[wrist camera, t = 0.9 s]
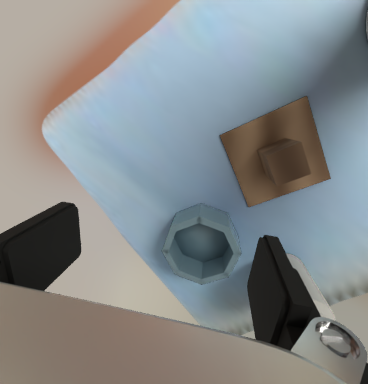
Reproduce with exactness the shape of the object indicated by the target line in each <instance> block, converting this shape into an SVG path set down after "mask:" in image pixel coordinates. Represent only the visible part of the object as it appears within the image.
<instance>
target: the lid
mask: <svg viewBox="0 0 368 384" xmlns="http://www.w3.org/2000/svg"><path fill="white" fill-rule="evenodd" d="M220 137H221V140H222V142H223V145H224V147H225V150H226V152H227V155H228V157H229V160H230V162H231V165H232V167H233V170H234V172H235V175H236V177H237V180H238V182H239V185H240V187H241V190H242V192H243V194H244V197H245V199H246V202H247V204H248V207H251V206H254V205H257V204H260V203H262V202H265V201H268V200H271V199H274V198H277V197H280V196H282V195H285V194H288V193H291V192H294V191H297V190H300V189H303V188H305V187H308V186H311V185H314V184H317V183H320V182H323V181H325V180H328V179H331V178H330V174H329V171H328V167H327V164H326V161H325V157H324V154H323V150H322V147H321V143H320V140H319V136H318V133H317V129H316V126H315V122H314V119H313V115H312V112H311V108H310V105H309V101H308V98H307V96H305V97H303V98H301V99H299V100H296V101H294V102H292V103H290V104H288V105H285V106H283V107H281V108H279V109H277V110H274V111H272V112H270V113H268V114H266V115H263V116H261V117H259V118H257V119H255V120H252V121H250V122H248V123H246V124H244V125H241V126H239V127H237V128H235V129H233V130H230V131H228V132H226V133H224V134H222V135H220Z"/></svg>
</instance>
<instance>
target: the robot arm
mask: <svg viewBox="0 0 368 384" xmlns="http://www.w3.org/2000/svg"><path fill="white" fill-rule="evenodd" d="M366 33H367V39H368V12H367V17H366ZM80 254H81V241H80V228H79V216H78V209H77V207H76V206H75V204H73V203H66V202H60V203H58V204H57V205H55V206H53V207H51V208H49V209H47V210H45V211H43V212H41V213H40V214H37V215H35V216H34V217H32V218H30V219H28V220H26V221H24V222H22V223H20V224H18V225H16V226H14V227H12V228H11V229H9V230H7V231H5V232H3V233H1V234H0V384H368V363H366V361H367V352H366V350H365V347H364V346H363V344H362V343H361V341H360V340H359V338H358V337H357V336H355V334H354V333H353V332H351V331H350V330H349V329H348V328H346V327H345V326H344V325H342V324H340V323H338V322H336V321H334V320H332V319H329V318H324V317H321V315H320V313H319V311H318V309H317V307H316V305H315V304H314V302H313V300H312V298H311V296H310V294H309V292H308V290H307V288H306V286H305V284H304V282H303V280H302V278H301V276H300V275H299V273H298V271H297V270H296V269H295V268H293V267H292V265H291V263H290V261H289V259H288V257H287V255H286V253H285V251H284V249H283V247H282V245H281V243H280V241H279V239H278V237H274V236H268V235H264V237H263V238H262V237H260V238H259V240H258V244H257V248H256V252H255V256H254V260H253V264H252V268H251V272H250V276H249V280H248V285H247V289H248V296H249V302H250V308H251V314H252V320H253V326H254V332H255V338H256V340H255V339H251V338H248V337H244V336H240V335H237V334H233V333H229V332H225V331H220V330H216V329H211V328H207V327H203V326H199V325H194V324H190V323H185V322H181V321H177V320H172V319H168V318H163V317H159V316H155V315H150V314H146V313H141V312H136V311H132V310H128V309H123V308H119V307H114V306H110V305H105V304H101V303H96V302H92V301H87V300H82V299H78V298H73V297H68V296H64V295H60V294H55V293H50V292H45V291H44V290H45V289H46V288H47V287H48V286H49V285H50V284H51V283H52V282H53V281H54V280H55V279H57V277H59V276H60V275H61V274H62V273H63V272H64V271H65V270H66V269H67V268H68V267H69V266H70V265H71V264H72V263H73V262H74V261H75V260H76V259H77V258H78V257H79V256H80Z"/></svg>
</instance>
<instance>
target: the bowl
mask: <svg viewBox="0 0 368 384" xmlns="http://www.w3.org/2000/svg"><path fill="white" fill-rule="evenodd" d="M162 253H163V254H164V256H165V258H166V260H167V261H168V263H169V265H170V267H171V269H172V270H173V272H174V274H175V275H178V276H180V277H183V278H185V279H188V280H191V281H193V282H196V283H198V284H201V285H203V284H206V283H210V282H213V281H217V280H220V279H224V278H228V277H229V276H230V274H231V272H232V270H233V269H234V267H235V265H236V263H237V261H238V259H239V257H240V256H241V249H240V243H239V238H238V235H237V233H236V231H235V228H234V226H233V224H232V222H231V220H230V217H229V215H228V213H226V212H223V211H221V210H218V209H216V208H213V207H210V206H208V205H205V204H202V203H200V204H198V205H195V206H193V207H190V208H188V209H185V210H182V211H180V212H177V213H176V215H175V218H174V220H173V222H172V224H171V227H170V230H169V232H168V235H167V238H166V241H165V243H164V246H163V249H162Z"/></svg>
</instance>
